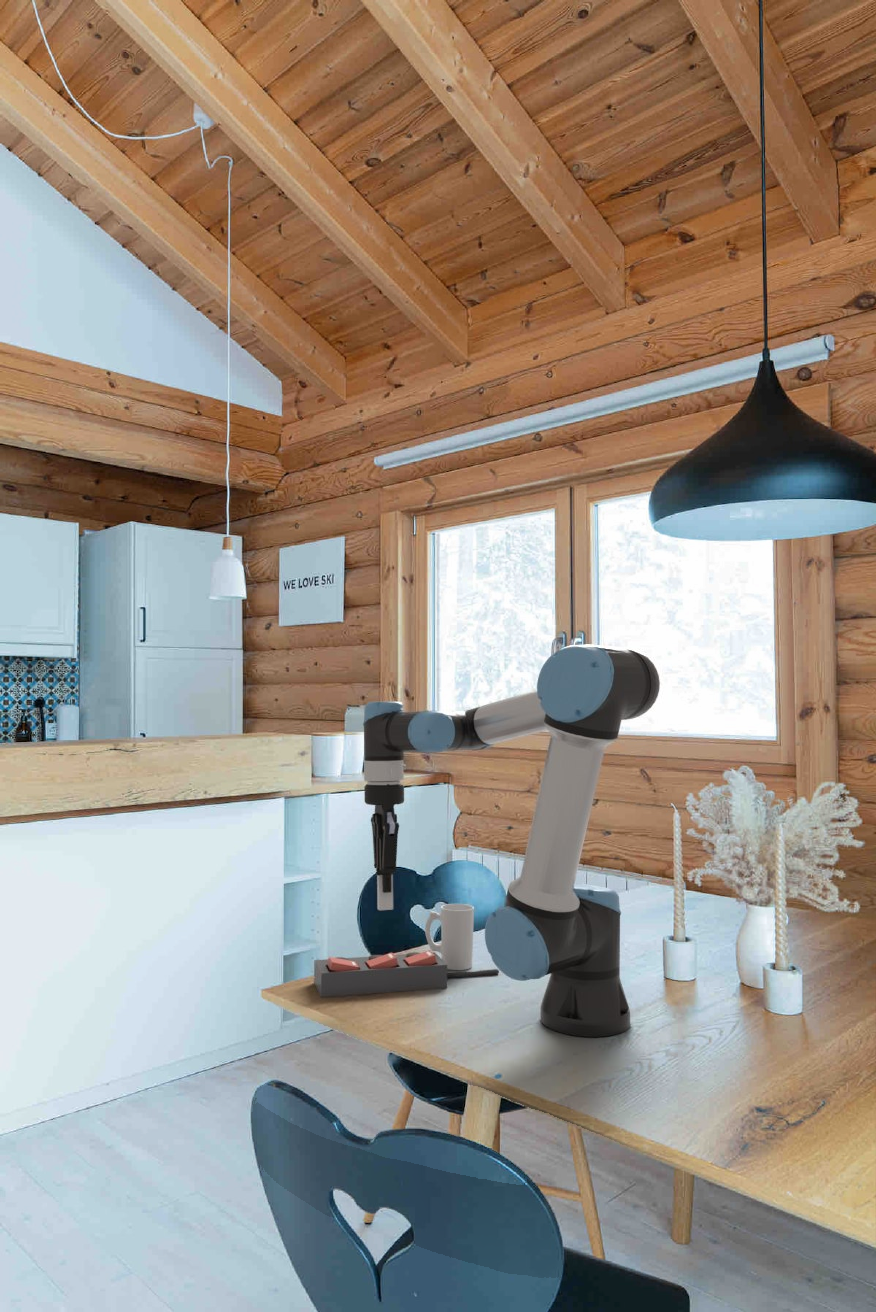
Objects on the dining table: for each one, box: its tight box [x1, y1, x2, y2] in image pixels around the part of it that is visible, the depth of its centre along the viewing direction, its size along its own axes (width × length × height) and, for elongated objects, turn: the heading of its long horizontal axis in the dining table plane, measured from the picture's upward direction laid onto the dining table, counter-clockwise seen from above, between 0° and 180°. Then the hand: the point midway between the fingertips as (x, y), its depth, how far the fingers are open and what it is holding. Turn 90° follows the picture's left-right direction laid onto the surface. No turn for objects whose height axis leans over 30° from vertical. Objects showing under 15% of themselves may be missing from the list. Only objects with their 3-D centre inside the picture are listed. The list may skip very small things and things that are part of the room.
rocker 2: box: [366, 952, 398, 969], centre depth 180 cm, size 4×5×2 cm
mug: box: [424, 903, 475, 971], centre depth 195 cm, size 10×7×12 cm, turn 80°
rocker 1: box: [327, 956, 359, 971], centre depth 178 cm, size 4×5×2 cm
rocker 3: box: [404, 949, 436, 966], centre depth 182 cm, size 4×5×2 cm
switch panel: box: [313, 951, 500, 998], centre depth 183 cm, size 9×36×5 cm, turn 106°
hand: (385, 909), depth 179 cm, fingers closed
